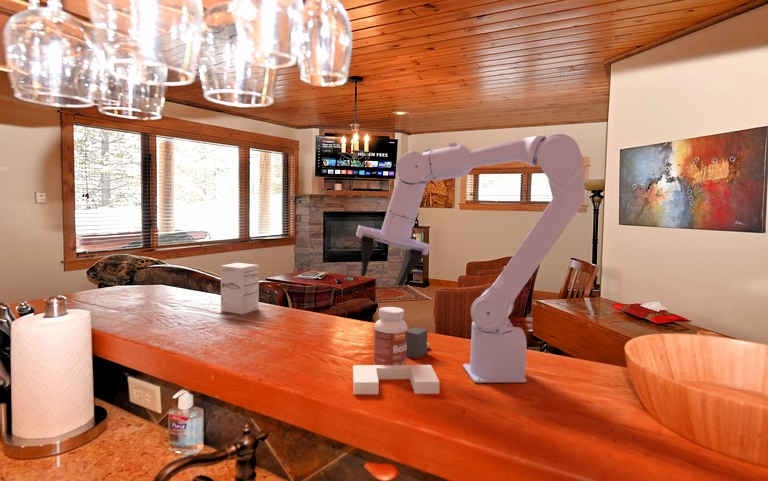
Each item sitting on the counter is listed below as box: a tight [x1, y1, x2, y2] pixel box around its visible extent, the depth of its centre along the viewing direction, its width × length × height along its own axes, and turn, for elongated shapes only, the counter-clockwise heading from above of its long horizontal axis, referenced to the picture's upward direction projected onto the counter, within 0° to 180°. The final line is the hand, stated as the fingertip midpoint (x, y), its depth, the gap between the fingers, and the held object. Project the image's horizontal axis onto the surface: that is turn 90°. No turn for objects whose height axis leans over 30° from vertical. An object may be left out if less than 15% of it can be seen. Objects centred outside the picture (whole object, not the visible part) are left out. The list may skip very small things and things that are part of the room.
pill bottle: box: [373, 306, 408, 365], centre depth 85 cm, size 6×6×11 cm
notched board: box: [352, 364, 441, 395], centre depth 77 cm, size 14×8×2 cm, turn 95°
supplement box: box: [220, 262, 260, 315], centre depth 123 cm, size 7×7×13 cm
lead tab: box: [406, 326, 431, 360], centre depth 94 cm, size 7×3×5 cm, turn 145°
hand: (380, 279), depth 90 cm, fingers open, 7 cm apart
